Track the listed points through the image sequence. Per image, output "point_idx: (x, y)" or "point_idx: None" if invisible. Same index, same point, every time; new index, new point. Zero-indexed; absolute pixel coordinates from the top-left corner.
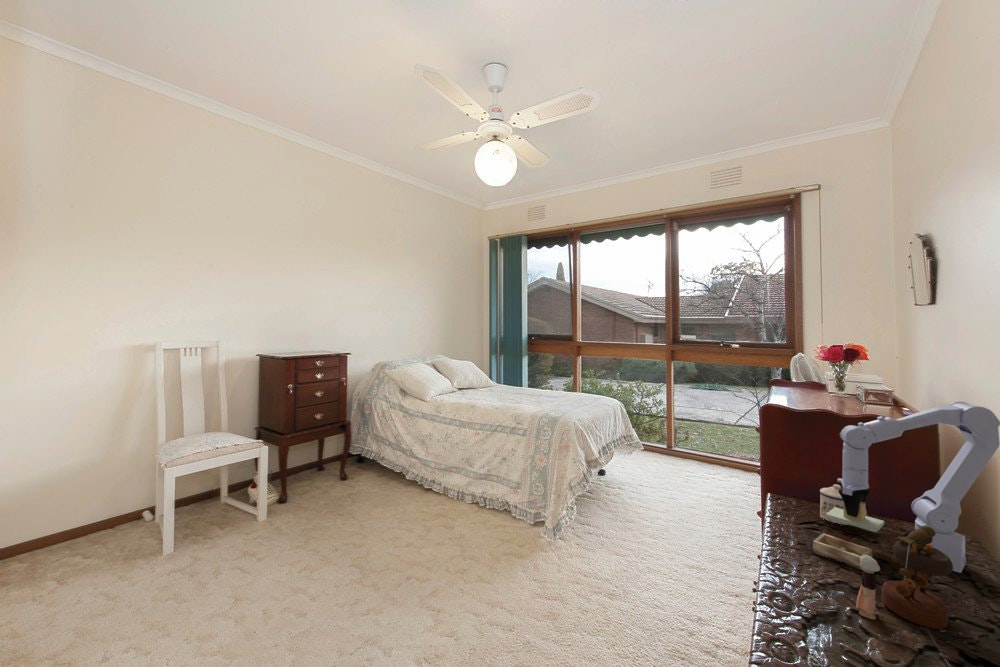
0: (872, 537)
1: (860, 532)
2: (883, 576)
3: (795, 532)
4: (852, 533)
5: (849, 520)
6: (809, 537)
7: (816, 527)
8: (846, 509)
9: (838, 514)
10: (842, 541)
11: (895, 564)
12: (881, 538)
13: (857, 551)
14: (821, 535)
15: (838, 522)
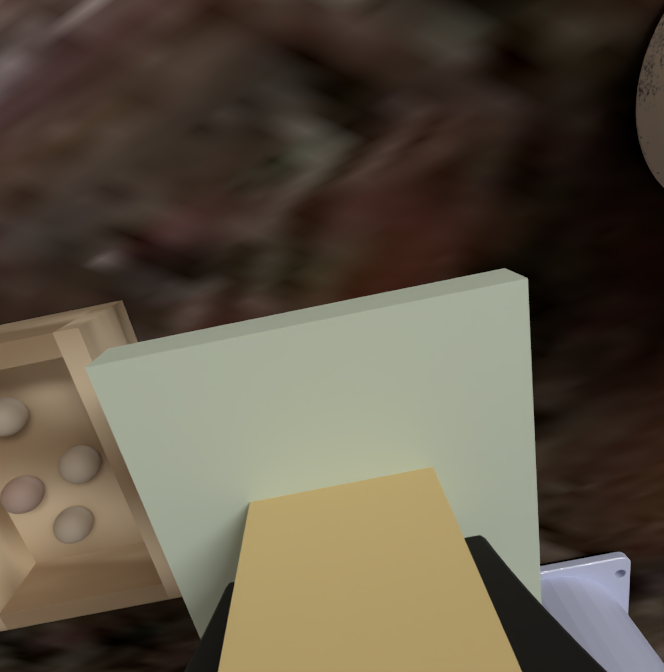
0: (595, 382)
1: (622, 307)
2: (91, 616)
3: (90, 60)
4: (547, 292)
5: (195, 579)
6: (127, 185)
7: (403, 87)
8: (193, 662)
9: (259, 445)
10: (113, 460)
11: None
12: (628, 411)
13: None
14: (14, 349)
15: (656, 152)
